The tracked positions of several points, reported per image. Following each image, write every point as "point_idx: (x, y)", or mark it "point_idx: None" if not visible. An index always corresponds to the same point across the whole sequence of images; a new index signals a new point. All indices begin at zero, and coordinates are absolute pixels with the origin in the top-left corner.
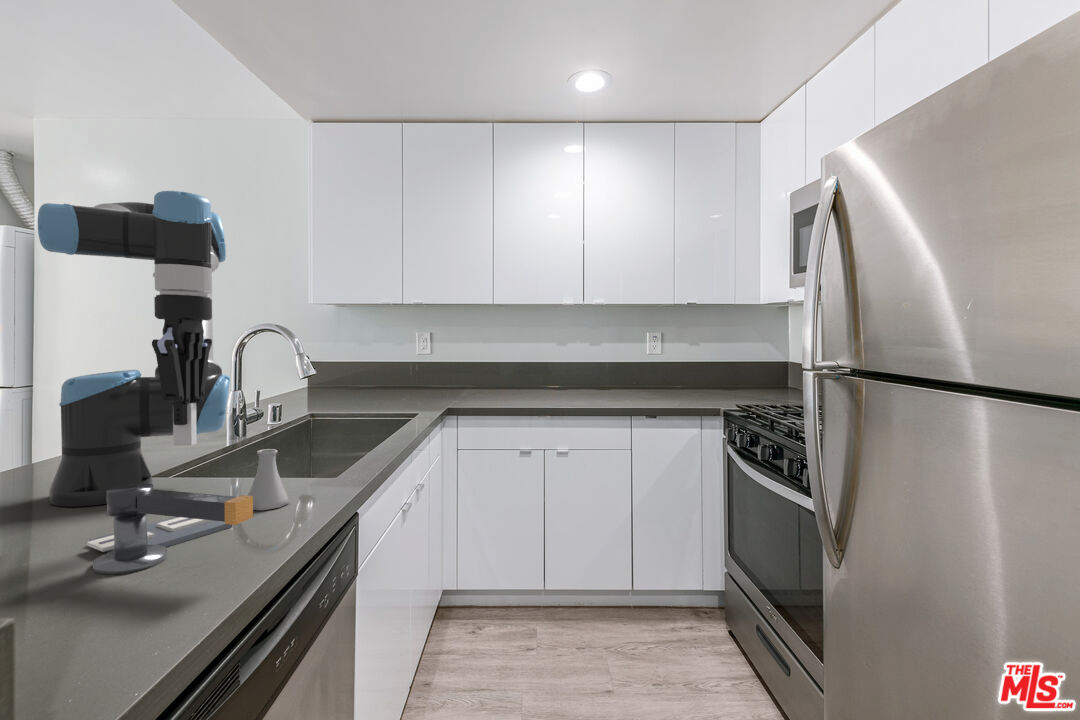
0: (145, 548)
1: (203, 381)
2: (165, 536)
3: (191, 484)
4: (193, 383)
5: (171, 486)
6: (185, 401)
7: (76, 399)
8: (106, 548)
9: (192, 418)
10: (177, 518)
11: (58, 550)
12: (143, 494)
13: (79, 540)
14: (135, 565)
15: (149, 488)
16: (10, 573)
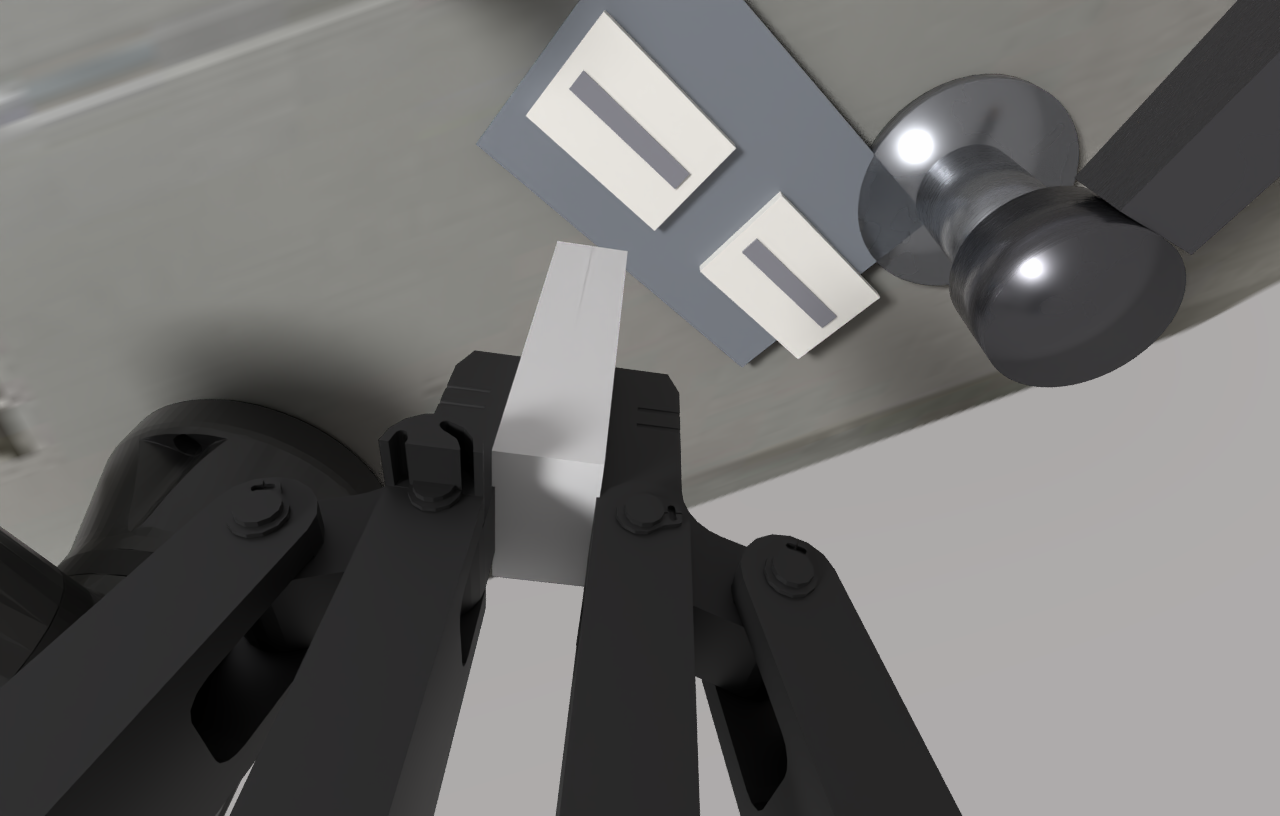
0: (994, 153)
1: (121, 665)
2: (785, 152)
3: (58, 305)
4: (425, 698)
5: (111, 361)
6: (682, 522)
7: None
8: (872, 289)
9: (593, 362)
10: (604, 177)
11: (759, 408)
12: (1210, 226)
13: (687, 395)
14: (1077, 141)
15: (1139, 231)
16: (898, 431)
